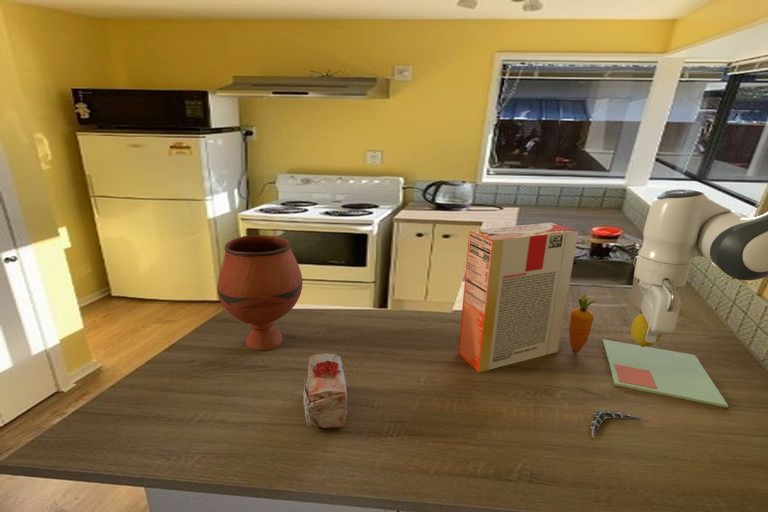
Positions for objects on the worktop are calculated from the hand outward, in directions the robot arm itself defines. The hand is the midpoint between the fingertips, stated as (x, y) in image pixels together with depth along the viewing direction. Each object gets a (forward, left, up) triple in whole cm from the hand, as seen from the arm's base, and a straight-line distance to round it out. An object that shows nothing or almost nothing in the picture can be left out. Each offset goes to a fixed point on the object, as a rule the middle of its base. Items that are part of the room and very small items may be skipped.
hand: (645, 333), depth 88 cm
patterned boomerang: (+8, +18, -11) cm, 22 cm away
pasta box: (+27, 0, -11) cm, 29 cm away
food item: (+58, +34, -11) cm, 68 cm away
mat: (-5, -5, -11) cm, 13 cm away
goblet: (+83, +17, -11) cm, 85 cm away
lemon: (0, 0, -3) cm, 3 cm away
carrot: (+12, -6, -11) cm, 17 cm away
